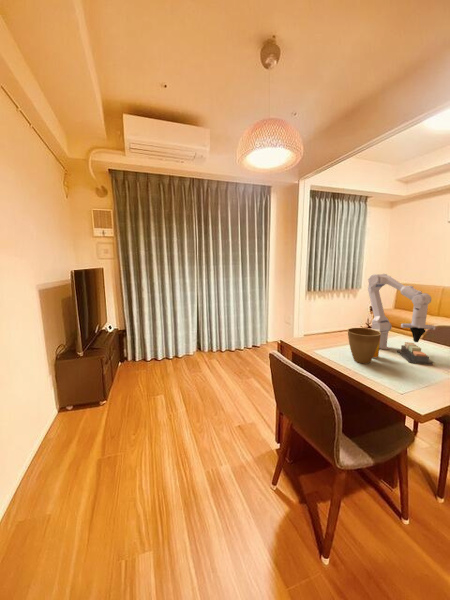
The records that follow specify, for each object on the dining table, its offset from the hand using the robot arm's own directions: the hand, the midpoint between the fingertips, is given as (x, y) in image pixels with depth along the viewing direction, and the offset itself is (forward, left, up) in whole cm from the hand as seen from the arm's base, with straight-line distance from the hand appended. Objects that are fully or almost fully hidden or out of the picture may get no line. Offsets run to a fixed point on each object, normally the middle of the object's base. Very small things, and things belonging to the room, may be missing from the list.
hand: (415, 341), depth 129 cm
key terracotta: (0, -5, -7) cm, 9 cm away
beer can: (-21, -3, -10) cm, 23 cm away
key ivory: (0, +6, -6) cm, 8 cm away
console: (0, 0, -9) cm, 9 cm away
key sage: (0, 0, -6) cm, 6 cm away
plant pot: (-28, -11, -10) cm, 31 cm away
